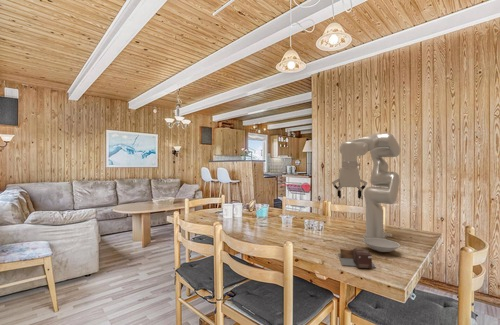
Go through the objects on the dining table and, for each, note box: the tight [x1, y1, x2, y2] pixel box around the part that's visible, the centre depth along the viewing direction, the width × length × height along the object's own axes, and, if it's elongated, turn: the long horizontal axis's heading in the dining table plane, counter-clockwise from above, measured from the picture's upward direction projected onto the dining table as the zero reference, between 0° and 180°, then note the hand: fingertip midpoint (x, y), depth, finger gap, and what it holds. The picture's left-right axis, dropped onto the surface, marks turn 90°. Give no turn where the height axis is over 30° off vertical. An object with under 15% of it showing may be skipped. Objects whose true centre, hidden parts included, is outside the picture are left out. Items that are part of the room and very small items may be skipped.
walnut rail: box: [339, 248, 370, 259], centre depth 122 cm, size 13×2×4 cm, turn 79°
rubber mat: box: [337, 253, 377, 269], centre depth 120 cm, size 14×14×1 cm
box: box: [352, 248, 373, 269], centre depth 114 cm, size 6×6×7 cm
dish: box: [362, 238, 401, 253], centre depth 132 cm, size 18×14×5 cm
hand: (349, 198), depth 132 cm, fingers open, 9 cm apart
